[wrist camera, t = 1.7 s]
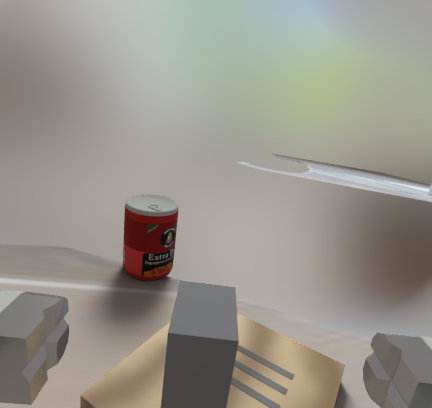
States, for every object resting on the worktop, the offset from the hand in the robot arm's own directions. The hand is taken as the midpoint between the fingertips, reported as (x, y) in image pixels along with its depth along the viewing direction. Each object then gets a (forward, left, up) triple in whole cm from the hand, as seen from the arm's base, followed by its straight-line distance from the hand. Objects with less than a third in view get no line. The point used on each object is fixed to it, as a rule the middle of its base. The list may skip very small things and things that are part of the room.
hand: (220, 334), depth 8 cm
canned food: (-26, +27, -20) cm, 43 cm away
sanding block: (-6, +11, -18) cm, 22 cm away
